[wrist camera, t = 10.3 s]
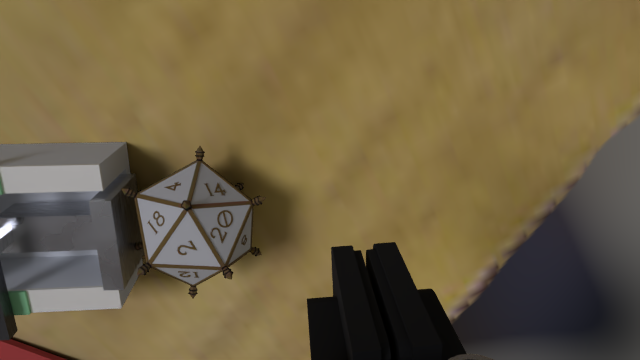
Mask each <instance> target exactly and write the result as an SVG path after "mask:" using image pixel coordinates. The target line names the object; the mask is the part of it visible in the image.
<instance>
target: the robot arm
mask: <svg viewBox="0 0 640 360" xmlns="http://www.w3.org/2000/svg"><path fill="white" fill-rule="evenodd" d="M331 255H332V278H333V297H323V298H311V299H307V307H308V321H309V336H310V350H311V360H493V359H491V358H488V357H485V356H482V355H475V354H466V352H465V350H464V348H463V346H462V344H461V342H460V340H459V339H458V336H457V334H456V332H455V330H454V329H453V327H452V325H451V323H450V321H449V319H448V317H447V315H446V313H445V311H444V309H443V307H442V305H441V304H440V302H439V300H438V298H437V296H436V294H435V292H434V291H433V290H432V289H421V290H417V288H416V286H415V284H414V282H413V280H412V278H411V275H410V273H409V271H408V269H407V267H406V265H405V263H404V260H403V258H402V256H401V254H400V252H399V250H398V247H397V245H396V243H395V242H392V243H378V244H374V245H373V249H371V250H366V266H365V263H364V259H363V256H362V253H361V250H358V251H354V250H353V247H352V246H339V247H332V248H331Z"/></svg>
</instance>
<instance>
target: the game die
mask: <svg viewBox="0 0 640 360" xmlns="http://www.w3.org/2000/svg"><path fill="white" fill-rule="evenodd" d="M195 152H196V155H195V156H196V157H197V160H196V161H194V162H192V163H191V164H189V165H187V166H185V167H183V168H182V169H180V170H178V171H176V172H174V173H173V174H171V175H169V176H167V177H165V178H163V179H162V180H160V181H158V182H156V183H154V184H153V185H151V186H149V187H147V188H145V189H144V190H142V191H140V192H138V193H136V192H134V190H131V189H130V188H122V189H121V190H122V191H123V193H124V194H125V196H128V197H129V198H130V197H133V198H134V199H135V205H136V211H137V217H138V223H139V229H140V235H141V240H142V242H140V241H138V243H137V242H135V245H134V247H135V250H137V251H138V250H140V249H142V248H143V250H144V255H145V259H146V264H145V265H144V264H143V265H142V266H141V267H139V268H138V272H137V275H143V274H144V275H146V273H147V272H149V269H150V268H153V269H155V270H158V271H160V272H162V273H164V274H166V275H169V276H171V277H173V278H175V279H178V280H180V281H182V282H184V283H187V284H189V285H190V286H191V287H190V289H189V290H190V291H189V293H188V294H190V295H191V297H192V298H194V297H195V295H196V294H197V288H196V285H198V284H200V283H202V282H204V281H206V280H207V279H209V278H211V277H213V276H215V275H217V274H218V273H220V272H222V271H223V275H224V278H228V279H232V274H233V272H232V271H231V269H229V268H228V267H230V266H231V265H232V264H234V263H235V262H236V261H238V260H239V259H240V258H242V257H243V256H244V255H246V254H247V253H248V252H251V253H252V254H254V255H255V256H257V255H262V254H261V252H260V250H259V248H258V249H257V248H256V247H255V248H253V247H252V227H253V206H254V205H259V204H262V202H263V201H264V199H265V198H266V197H261V196H257V197H255V198H254V199H253V200H251V199H250V198H249V197H248V196H246V195H245V194H244V193H243V192H241V191H240V190H242V189H243V184H240V183H237V185H235V186H234V185H232V184H231V183H230V182H229V181H227V180H226V179H225V178H224V177H222V176H221V175H220V174H219V173H217V172H216V171H215V170H214V169H212V168H211V167H210V166H209V165H207V164H206V163H205V162H204V161H203V160H202V159H203V157H204V153H205V152H204V151H203V150H202V148H201V146H200V147H199V148H198V149H197V151H195Z"/></svg>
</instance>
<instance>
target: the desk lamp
mask: <svg viewBox="0 0 640 360" xmlns="http://www.w3.org/2000/svg"><path fill="white" fill-rule="evenodd" d="M0 360H66V359H64V358H61V357H58V356H56V355H53V354H50V353H47V352H45V351H42V350H39V349H37V348H34V347H31V346H28V345H26V344H23V343H20V342H18V341H15V340H12V339H10V340H0Z"/></svg>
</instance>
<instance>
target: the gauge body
mask: <svg viewBox="0 0 640 360" xmlns="http://www.w3.org/2000/svg"><path fill="white" fill-rule="evenodd" d="M119 174H131V173H130V166H129V159H128V151H127V144H126V142H106V143H50V144H0V213H2V212H3V211H4V210H6V209H7V208H9V207H10V206H11V205H13V204H14V203H48V202H83V201H90V200H91V199H92V198H93V197H94V196H95V195H96V194H97V193H98V192H99V191H103V190H104V189H105V188H106V187H107V186H108V185H109V184H110V183H111V182H112V181H113V180H114V179H115V178H116V177H117V176H118V175H119ZM0 262H1V266H2V270H3V274H4V278H5V282H6V286H7V290H8V294H9V298H10V302H11V306H12V310H13V314H14V315H29V314H30V313H33V312H54V311H75V310H96V309H118V308H122V306H123V305H124V303H125V301H126V299H127V297H128V295H129V293H130V291H131V290H132V288H133V286H134V284H135V282H136V280H137V278H138V276H139V275H137V272H138V268H139V267H141V266H142V265H143V262H142V259H141V261H140V262H139V264H138V266H137V268H136V270H135V271H134V273H133V275H132V277H131V278H130V280H129V282H128V284H127V286H126V287H125V289H124V290H106V291H104V289H103V283H102V277H101V271H100V265H99V260H98V254H97V250H81V251H54V252H27V253H2V252H1V253H0Z"/></svg>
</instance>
